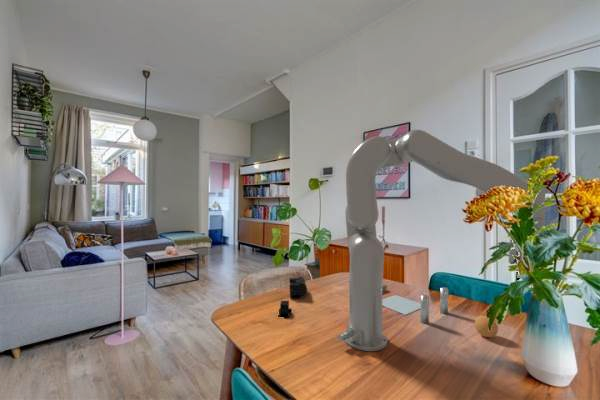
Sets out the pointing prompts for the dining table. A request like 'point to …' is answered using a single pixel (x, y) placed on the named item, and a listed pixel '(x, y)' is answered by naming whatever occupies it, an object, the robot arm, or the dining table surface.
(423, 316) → the left post
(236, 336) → the dining table surface
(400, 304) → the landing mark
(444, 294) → the right post
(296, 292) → the end cap
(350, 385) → the dining table surface
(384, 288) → the stopper wall
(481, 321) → the ball
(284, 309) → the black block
